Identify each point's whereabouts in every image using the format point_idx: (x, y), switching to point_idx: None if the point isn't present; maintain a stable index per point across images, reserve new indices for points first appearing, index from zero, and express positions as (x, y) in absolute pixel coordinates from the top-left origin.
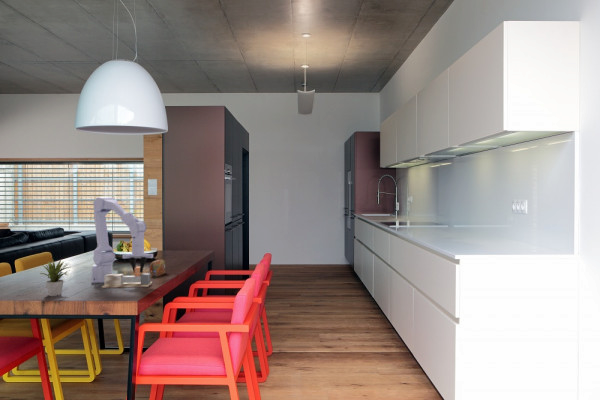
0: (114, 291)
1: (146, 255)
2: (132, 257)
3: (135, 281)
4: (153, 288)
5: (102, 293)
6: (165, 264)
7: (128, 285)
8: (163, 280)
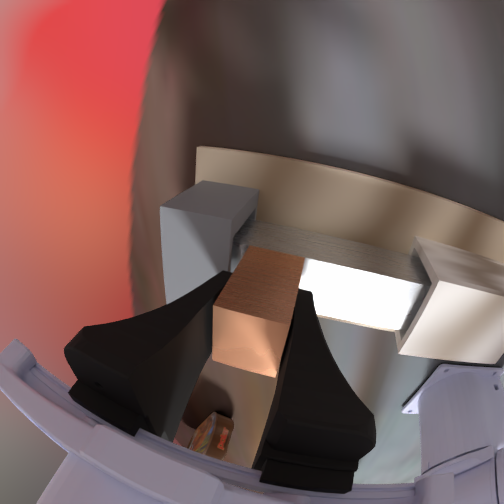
0: (446, 31)
1: (26, 395)
2: (294, 490)
3: (302, 233)
4: (159, 67)
5: (498, 12)
6: None
7: (362, 191)
8: None
